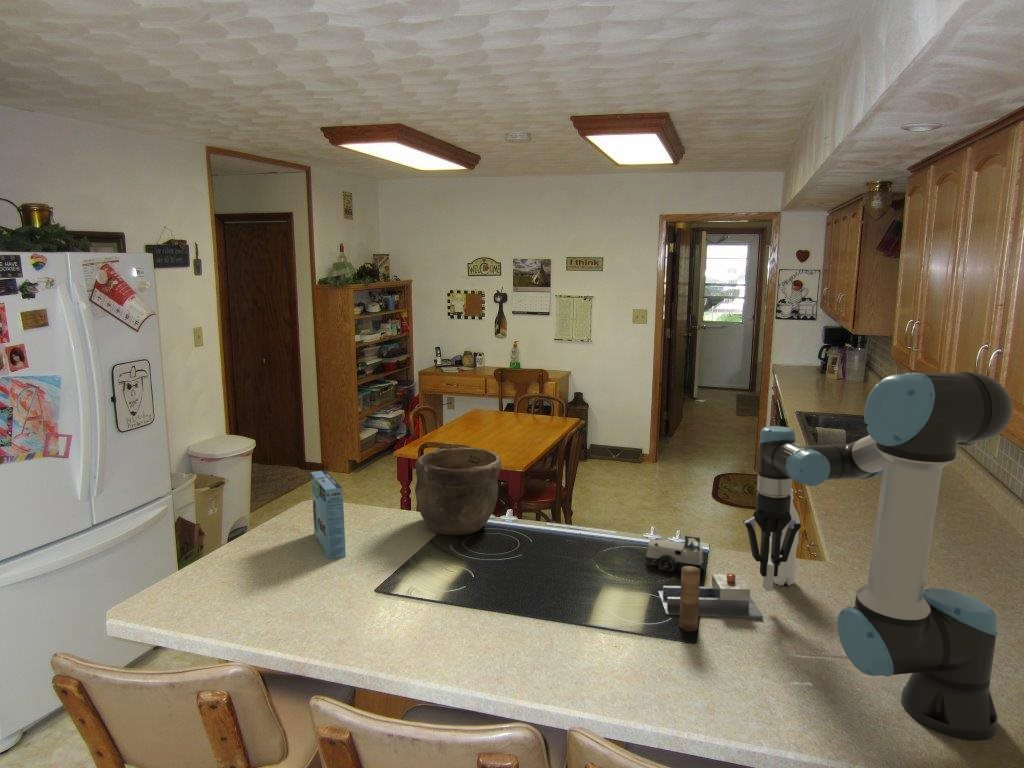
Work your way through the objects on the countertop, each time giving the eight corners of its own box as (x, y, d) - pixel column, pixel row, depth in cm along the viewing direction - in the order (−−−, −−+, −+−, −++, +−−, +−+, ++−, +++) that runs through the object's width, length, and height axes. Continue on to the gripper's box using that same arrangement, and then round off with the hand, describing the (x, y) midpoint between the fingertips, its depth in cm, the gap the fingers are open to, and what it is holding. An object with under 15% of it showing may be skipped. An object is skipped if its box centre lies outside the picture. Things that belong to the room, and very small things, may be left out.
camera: (643, 571, 190) (644, 535, 188) (649, 561, 196) (651, 526, 195) (700, 581, 184) (702, 544, 182) (705, 570, 190) (706, 535, 189)
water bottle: (797, 589, 179) (804, 494, 175) (768, 586, 180) (774, 492, 176) (792, 577, 186) (799, 485, 182) (764, 575, 187) (769, 484, 183)
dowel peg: (699, 633, 156) (701, 573, 154) (680, 633, 157) (683, 573, 154) (695, 624, 160) (697, 566, 158) (677, 624, 161) (679, 565, 158)
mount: (762, 620, 163) (763, 605, 162) (666, 617, 164) (666, 603, 163) (747, 596, 174) (748, 583, 174) (657, 594, 175) (658, 581, 175)
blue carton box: (346, 570, 189) (343, 487, 186) (327, 573, 187) (324, 490, 184) (331, 545, 207) (328, 469, 203) (313, 548, 204) (310, 471, 201)
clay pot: (468, 559, 196) (468, 472, 193) (397, 541, 210) (396, 459, 206) (517, 531, 219) (517, 452, 215) (450, 516, 232) (449, 441, 228)
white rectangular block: (749, 600, 164) (750, 582, 164) (719, 600, 164) (720, 582, 164) (740, 585, 172) (740, 568, 171) (711, 585, 172) (712, 568, 172)
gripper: (796, 488, 168) (790, 582, 171) (740, 487, 168) (735, 581, 172) (808, 498, 160) (801, 596, 164) (749, 497, 161) (744, 595, 164)
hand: (767, 588), depth 168 cm, fingers closed
